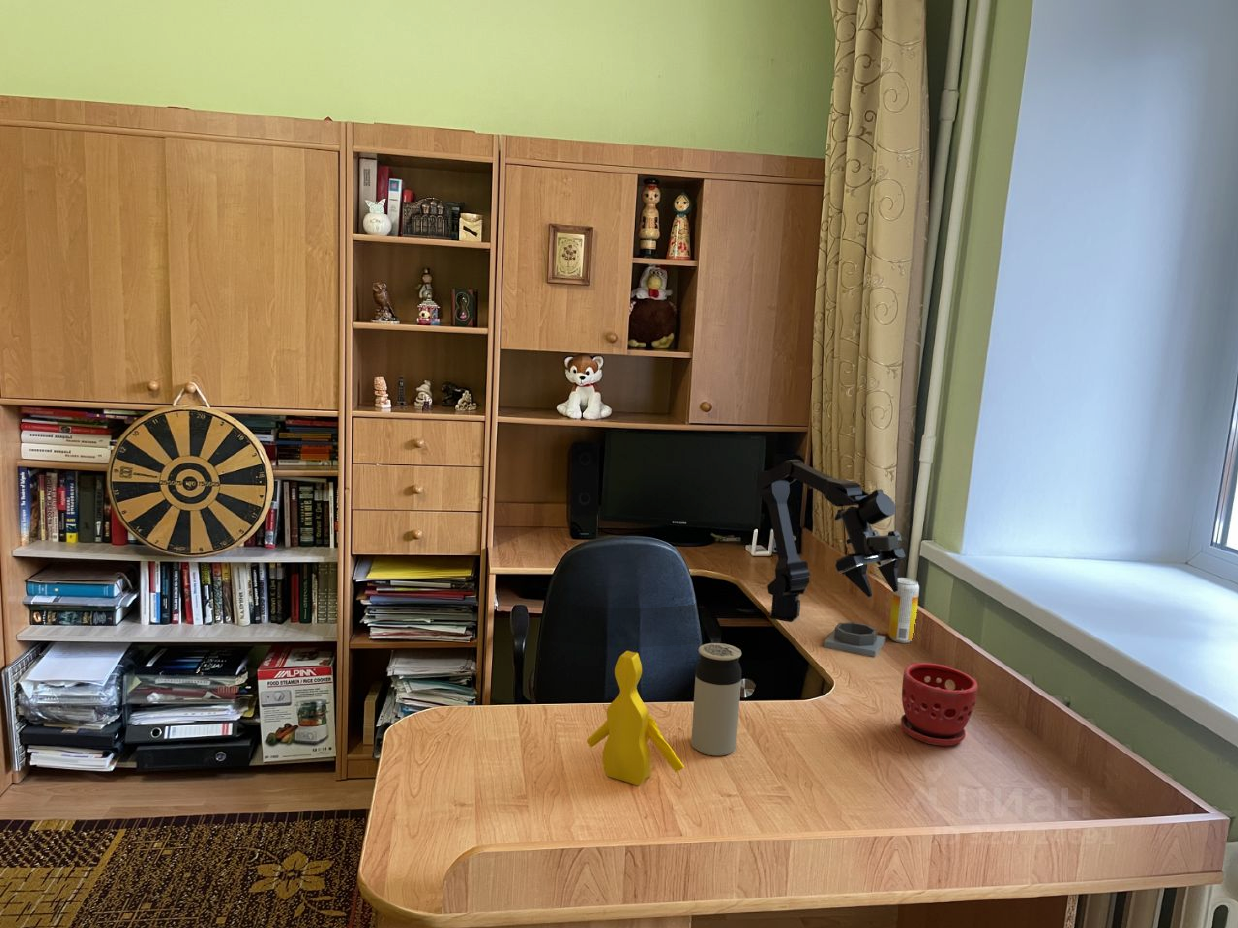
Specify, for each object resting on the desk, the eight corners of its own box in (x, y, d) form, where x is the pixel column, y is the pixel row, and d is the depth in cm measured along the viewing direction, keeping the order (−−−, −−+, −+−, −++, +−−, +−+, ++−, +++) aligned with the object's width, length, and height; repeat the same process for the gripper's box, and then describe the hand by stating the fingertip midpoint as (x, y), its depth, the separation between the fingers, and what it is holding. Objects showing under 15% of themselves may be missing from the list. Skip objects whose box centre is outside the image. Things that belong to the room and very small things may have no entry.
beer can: (910, 636, 222) (916, 578, 219) (916, 644, 216) (922, 585, 213) (885, 634, 222) (891, 576, 220) (890, 642, 216) (896, 583, 214)
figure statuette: (687, 781, 144) (695, 653, 141) (668, 803, 137) (676, 669, 134) (592, 753, 152) (598, 631, 149) (569, 772, 145) (575, 645, 142)
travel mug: (706, 760, 152) (713, 660, 149) (682, 740, 158) (688, 645, 156) (744, 752, 155) (752, 654, 153) (719, 733, 162) (725, 639, 159)
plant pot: (896, 743, 162) (902, 681, 160) (899, 715, 174) (905, 657, 172) (972, 758, 157) (979, 694, 155) (970, 728, 169) (976, 669, 168)
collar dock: (824, 646, 211) (825, 630, 210) (836, 632, 221) (837, 617, 221) (875, 657, 205) (876, 640, 205) (884, 642, 216) (886, 626, 215)
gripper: (857, 522, 198) (882, 588, 194) (909, 516, 209) (934, 578, 204) (824, 539, 207) (847, 603, 202) (876, 532, 217) (899, 592, 213)
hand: (883, 593), depth 205 cm, fingers open, 9 cm apart
